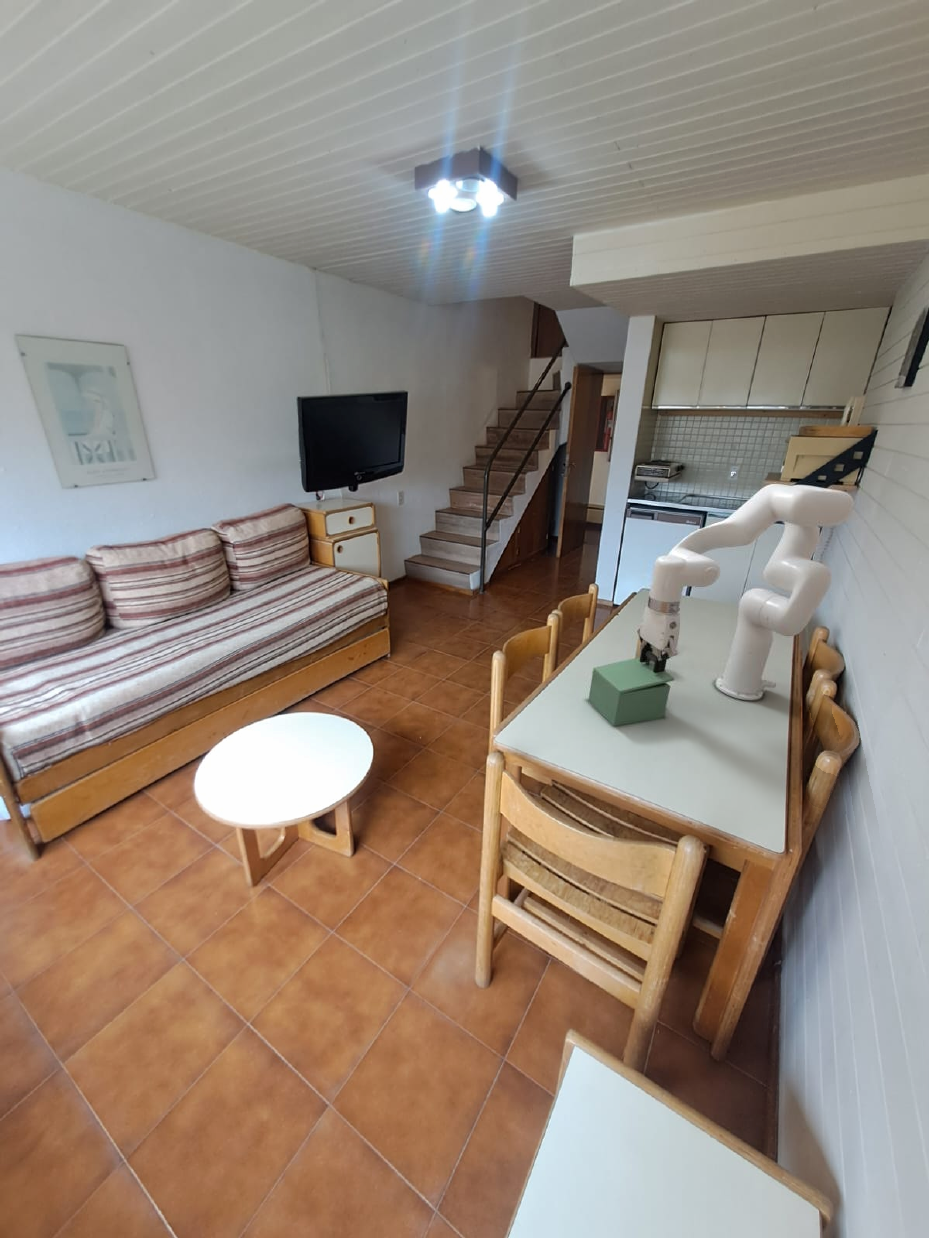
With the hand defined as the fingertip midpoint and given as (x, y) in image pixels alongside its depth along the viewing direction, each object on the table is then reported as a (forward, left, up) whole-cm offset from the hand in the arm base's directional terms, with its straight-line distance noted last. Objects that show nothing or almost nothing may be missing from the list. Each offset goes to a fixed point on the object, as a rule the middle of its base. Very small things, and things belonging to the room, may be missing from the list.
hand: (651, 666), depth 133 cm
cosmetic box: (-8, -24, -13) cm, 28 cm away
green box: (+6, +2, -13) cm, 14 cm away
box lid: (+5, +2, -2) cm, 6 cm away
